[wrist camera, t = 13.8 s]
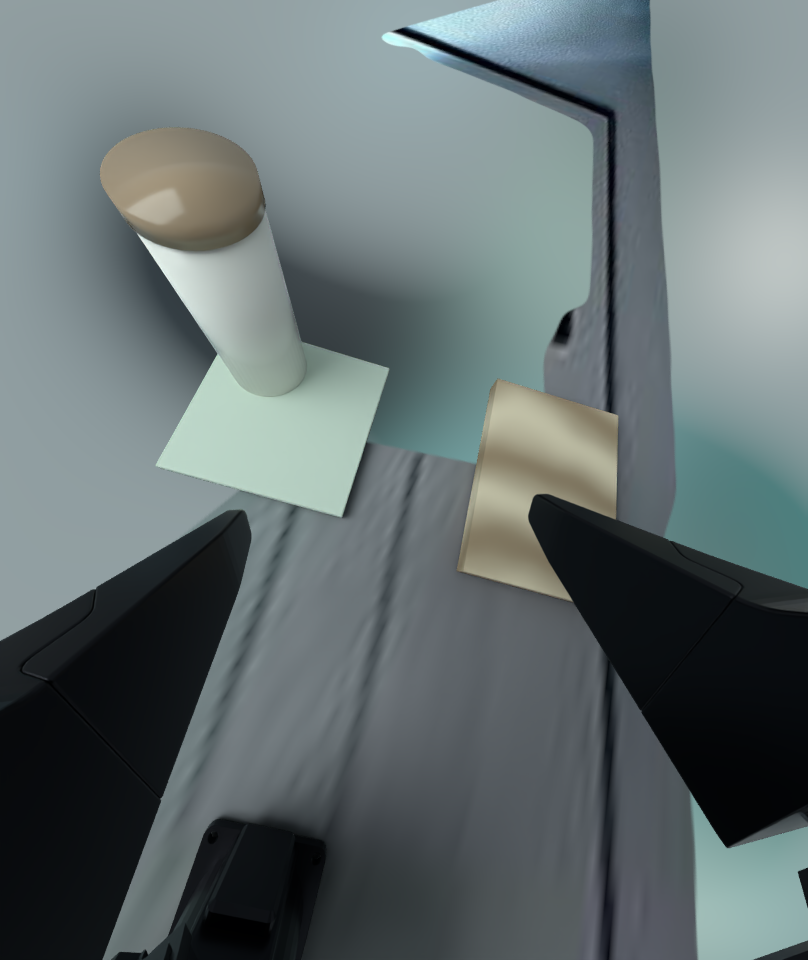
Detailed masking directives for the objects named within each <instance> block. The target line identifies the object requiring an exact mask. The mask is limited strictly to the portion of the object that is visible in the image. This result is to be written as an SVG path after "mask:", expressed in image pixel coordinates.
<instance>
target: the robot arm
mask: <svg viewBox="0 0 808 960" xmlns="http://www.w3.org/2000/svg"><path fill="white" fill-rule="evenodd" d="M528 520H529V523H530V525H531V527H532V529H533V532H534V534H535V536H536V538H537V540H538V542H539V544H540V546H541V548H542V550H543V552H544V554H545V556H546V558H547V560H548V562H549V563H550V565H551V567H552V568H553V570H554V572H555V573H556V575H557V576H558V578H559V580H560V581H561V583H562V585H563V586H564V588H565V589H566V591H567V593H568V594H569V596H570V597H571V599H572V601H573V602H574V604H575V606H576V607H577V609H578V610H579V612H580V614H581V615H582V617H583V618H584V620H585V622H586V623H587V625H588V627H589V628H590V630H591V631H592V633H593V635H594V636H595V638H596V639H597V641H598V643H599V644H600V646H601V648H602V649H603V651H604V652H605V654H606V656H607V657H608V659H609V660H610V662H611V664H612V665H613V667H614V669H615V670H616V672H617V673H618V675H619V677H620V678H621V680H622V681H623V683H624V685H625V686H626V688H627V690H628V691H629V693H630V694H631V696H632V698H633V699H634V701H635V702H636V704H637V706H638V707H639V709H640V710H642V714H643V716H644V717H645V719H646V721H647V722H648V724H649V726H650V727H651V729H652V730H653V732H654V734H655V735H656V737H657V738H658V740H659V742H660V743H661V745H662V747H663V748H664V750H665V751H666V753H667V755H668V756H669V758H670V759H671V761H672V763H673V764H674V766H675V768H676V769H677V771H678V772H679V774H680V776H681V777H682V779H683V781H684V782H685V784H686V785H687V787H688V789H689V790H690V792H691V793H692V795H693V797H694V798H695V800H696V802H697V803H698V805H699V806H700V808H701V810H702V811H703V813H704V814H705V816H706V818H707V819H708V821H709V822H710V824H711V826H712V827H713V829H714V831H715V832H716V834H717V835H718V837H719V838H720V839H721V841H722V842H723V844H724V845H725V846H726V847H727V848H731V847H735V846H738V845H742V844H746V843H749V842H753V841H757V840H760V839H764V838H767V837H771V836H774V835H778V834H782V833H785V832H789V831H793V830H796V829H799V828H803V827H807V826H808V589H806V588H803V587H800V586H797V585H794V584H792V583H789V582H786V581H782V580H780V579H777V578H774V577H771V576H768V575H765V574H762V573H760V572H756V571H754V570H751V569H748V568H745V567H742V566H739V565H736V564H733V563H731V562H728V561H725V560H722V559H719V558H716V557H714V556H710V555H708V554H705V553H703V552H700V551H697V550H695V549H692V548H689V547H686V546H684V545H681V544H678V543H675V542H673V541H669V540H668V539H665V538H663V537H660V536H658V535H655V534H652V533H650V532H647V531H644V530H642V529H639V528H637V527H634V526H631V525H629V524H626V523H623V522H621V521H618V520H616V519H613V518H610V517H608V516H605V515H603V514H600V513H597V512H595V511H592V510H589V509H587V508H584V507H582V506H579V505H576V504H574V503H571V502H568V501H566V500H563V499H561V498H558V497H555V496H553V495H550V494H536V495H535V496H534V497H533V499H532V503H531V506H530V510H529V513H528ZM250 543H251V530H250V526H249V522H248V519H247V515H246V512H245V511H244V510H228V511H226V512H224V513H222V514H221V515H219V516H217V517H216V518H214V519H212V520H211V521H209V522H207V523H205V524H204V525H202V526H200V527H199V528H197V529H195V530H193V531H192V532H190V533H188V534H187V535H185V536H183V537H181V538H180V539H178V540H176V541H175V542H173V543H171V544H169V545H168V546H166V547H164V548H163V549H161V550H159V551H157V552H156V553H154V554H152V555H151V556H149V557H147V558H146V559H144V560H142V561H140V562H139V563H137V564H135V565H134V566H132V567H130V568H128V569H127V570H125V571H123V572H122V573H120V574H118V575H116V576H115V577H113V578H111V579H110V580H108V581H106V582H104V583H103V584H101V585H99V586H98V587H97V588H96V590H95V589H93V590H91V591H89V592H87V593H86V594H84V595H82V596H80V597H79V598H77V599H75V600H74V601H72V602H70V603H68V604H67V605H65V606H63V607H62V608H60V609H58V610H56V611H54V612H52V613H51V614H49V615H47V616H45V617H44V618H42V619H40V620H38V621H36V622H35V623H33V624H31V625H29V626H27V627H25V628H24V629H22V630H20V631H18V632H16V633H14V634H12V635H10V636H9V637H7V638H5V639H3V640H1V641H0V960H102V959H103V957H104V954H105V951H106V948H107V946H108V943H109V940H110V938H111V935H112V932H113V930H114V927H115V924H116V922H117V919H118V916H119V913H120V911H121V908H122V905H123V903H124V900H125V897H126V895H127V892H128V889H129V886H130V884H131V881H132V878H133V876H134V873H135V870H136V868H137V865H138V862H139V859H140V857H141V854H142V851H143V849H144V846H145V843H146V841H147V838H148V835H149V832H150V830H151V827H152V824H153V822H154V819H155V816H156V814H157V811H158V808H159V805H160V803H161V799H160V798H162V796H163V794H164V791H165V788H166V786H167V783H168V780H169V778H170V775H171V772H172V770H173V767H174V764H175V762H176V759H177V756H178V753H179V751H180V748H181V745H182V743H183V740H184V737H185V735H186V732H187V729H188V726H189V724H190V721H191V718H192V716H193V713H194V710H195V708H196V705H197V702H198V699H199V697H200V694H201V691H202V689H203V686H204V683H205V681H206V678H207V675H208V672H209V670H210V667H211V664H212V662H213V659H214V656H215V654H216V651H217V648H218V646H219V643H220V640H221V637H222V635H223V632H224V629H225V627H226V624H227V621H228V619H229V616H230V613H231V610H232V608H233V605H234V602H235V600H236V597H237V594H238V591H239V588H240V585H241V581H242V577H243V573H244V569H245V564H246V560H247V556H248V552H249V547H250ZM212 831H216V832H217V833H218V837H213V836H212V834H211V832H212ZM326 851H327V849H326V845H325V844H324V842H322V841H320V840H316V839H311V838H307V837H302V836H297V835H293V833H292V832H288V831H283V830H279V829H274V828H269V827H264V826H260V825H255V824H248V825H246V824H241V823H236V822H231V821H227V820H222V819H216V820H214V821H213V822H212V823H211V824H210V825H209V826H208V828H207V830H206V831H205V833H204V835H203V838H202V841H201V844H200V846H199V849H198V852H197V855H196V858H195V861H194V863H193V866H192V869H191V872H190V875H189V878H188V881H187V883H186V886H185V889H184V892H183V895H182V898H181V900H180V903H179V906H178V909H177V912H176V915H175V918H174V920H173V923H172V926H171V929H170V932H169V935H168V937H167V938H166V939H165V940H164V941H163V942H162V943H160V944H159V945H158V946H157V947H156V948H155V949H154V950H153V951H152V952H151V953H150V954H149V955H148V953H147V951H146V949H145V950H144V951H143V952H142V953H131V952H119V953H118V954H117V955H116V956H115V957H114V958H112V959H111V960H301V958H302V954H303V949H304V945H305V941H306V937H307V933H308V929H309V925H310V921H311V917H312V913H313V909H314V905H315V901H316V897H317V893H318V889H319V885H320V881H321V877H322V873H323V869H324V865H325V860H326ZM315 853H319V854H320V855H321V856H320V857H319V858H317V859H315V858H314V857H313V855H314V854H315ZM798 874H799V878H800V882H801V885H802V889H803V892H804V896H805V900H806V903H807V907H808V868H806V869H803V870H801V871H798ZM754 960H808V941H805V942H802V943H800V944H797V945H794V946H791V947H788V948H786V949H782V950H780V951H777V952H774V953H771V954H769V955H765V956H763V957H760V958H757V959H754Z"/></svg>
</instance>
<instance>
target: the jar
mask: <svg viewBox="0 0 808 960" xmlns="http://www.w3.org/2000/svg"><path fill="white" fill-rule="evenodd" d="M100 178H101V182H102V185H103V187H104V189H105V191H106V192H107V194H108V196H109V197H110V199H111V200H112V202H113V203H114V205H115V206H116V207H117V209H118V210H119V212H120V213H121V215H122V216H123V218H124V219H125V221H126V222H127V224H128V225H129V226H130V227H131V228H132V229H133V230H134V231H135V232H136V233H137V234H138V235H139V237H140V238H141V240H142V241H143V243H144V244H145V246H146V247H147V249H148V250H149V252H150V253H151V255H152V256H153V258H154V259H155V261H156V262H157V264H158V265H159V267H160V268H161V270H162V271H163V273H164V274H165V276H166V277H167V279H168V280H169V282H170V283H171V284H172V286H173V288H174V289H175V290H176V292H177V294H178V295H179V296H180V298H181V299H182V301H183V302H184V304H185V305H186V307H187V308H188V310H189V311H190V313H191V314H192V316H193V317H194V319H195V320H196V322H197V323H198V325H199V326H200V328H201V329H202V331H203V332H204V334H205V335H206V337H207V338H208V340H209V341H210V343H211V344H212V346H213V347H214V349H215V350H216V352H217V353H218V355H219V356H220V358H221V359H222V361H223V362H224V363H225V365H226V366H227V368H228V369H229V371H230V372H231V374H232V375H233V377H234V378H235V380H236V381H237V383H238V384H239V385H240V386H241V387H242V388H243V389H245V390H246V391H248V392H250V393H252V394H254V395H258V396H263V397H274V396H280V395H283V394H286V393H288V392H290V391H292V390H293V389H295V388H296V387H297V386H298V385H299V384H300V383H301V382H302V380H303V379H304V377H305V374H306V371H307V361H306V357H305V354H304V350H303V346H302V343H301V339H300V335H299V332H298V328H297V324H296V320H295V317H294V313H293V309H292V306H291V302H290V298H289V295H288V291H287V287H286V284H285V280H284V277H283V273H282V269H281V265H280V262H279V258H278V254H277V250H276V247H275V243H274V239H273V236H272V232H271V228H270V225H269V221H268V217H267V214H266V210H265V207H266V204H265V198H264V194H263V191H262V186H261V183H260V179H259V175H258V171H257V168H256V166H255V164H254V162H253V160H252V159H251V157H250V156H249V155H248V154H247V153H246V152H245V151H244V150H243V149H242V148H241V147H240V146H238V145H237V144H235V143H234V142H232V141H230V140H228V139H226V138H224V137H222V136H220V135H217V134H214V133H211V132H207V131H203V130H198V129H192V128H180V127H170V128H158V129H153V130H148V131H144V132H141V133H137V134H135V135H132V136H130V137H128V138H126V139H124V140H122V141H121V142H119V143H118V144H116V145H115V146H114V147H113V148H112V149H111V150H110V151H109V152H108V153H107V154H106V156H105V158H104V160H103V161H102V164H101V168H100Z"/></svg>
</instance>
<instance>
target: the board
mask: <svg viewBox="0 0 808 960" xmlns="http://www.w3.org/2000/svg"><path fill="white" fill-rule="evenodd" d="M617 446H618V415H614V414H611V413H608V412H605V411H601V410H598V409H595V408H592V407H588V406H585V405H582V404H579V403H575V402H572V401H569V400H566V399H562V398H559V397H556V396H553V395H549V394H546V393H543V392H540V391H537V390H533V389H530V388H526V387H523V386H520V385H517V384H514V383H511V382H507V381H504V380H501V379H497V380H496V382H495V383H494V385H493V386H492V387H491V389H490V394H489V400H488V405H487V410H486V416H485V421H484V427H483V432H482V437H481V443H480V448H479V453H478V459H477V464H476V470H475V475H474V480H473V486H472V491H471V497H470V502H469V507H468V513H467V518H466V524H465V529H464V534H463V540H462V545H461V551H460V556H459V561H458V567H457V571H458V572H462V573H466V574H469V575H473V576H477V577H480V578H484V579H488V580H492V581H495V582H499V583H503V584H506V585H510V586H514V587H518V588H521V589H525V590H529V591H532V592H536V593H540V594H544V595H547V596H551V597H555V598H558V599H562V600H566V601H570V602H573V601H572V599H571V597H570V596H569V594H568V593H567V591H566V589H565V588H564V586H563V585H562V583H561V581H560V580H559V578H558V576H557V575H556V573H555V572H554V570H553V568H552V567H551V565H550V563H549V562H548V560H547V558H546V556H545V554H544V552H543V550H542V548H541V546H540V544H539V542H538V540H537V538H536V536H535V534H534V532H533V529H532V527H531V525H530V523H529V520H528V513H529V510H530V506H531V503H532V499H533V497H534V496H535V495H536V494H550V495H553V496H555V497H558V498H561V499H563V500H566V501H568V502H571V503H574V504H576V505H579V506H582V507H584V508H587V509H589V510H592V511H595V512H597V513H600V514H603V515H605V516H608V517H610V518H613V519H616V493H617ZM573 603H574V602H573Z"/></svg>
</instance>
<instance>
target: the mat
mask: <svg viewBox="0 0 808 960" xmlns="http://www.w3.org/2000/svg"><path fill="white" fill-rule="evenodd" d="M301 343H302V346H303V350H304V354H305V357H306V361H307V371H306V374H305V377H304V379H303V380H302V382H301V383H300V384H299V385H298V386H297V387H296V388H295V389H293V390H292V391H290V392H288V393H286V394H283V395H280V396H274V397H263V396H258V395H254V394H252V393H250V392H248V391H246V390H245V389H243V388H242V387H241V386H240V385H239V384H238V383H237V381H236V380H235V378H234V377H233V375H232V374H231V372H230V371H229V369H228V368H227V366H226V365H225V363H224V362H223V361H222V359H221V358H220V356H219V355H217V356H216V358H215V360H214V362H213V364H212V365H211V367H210V369H209V371H208V373H207V374H206V376H205V378H204V380H203V382H202V384H201V385H200V387H199V389H198V390H197V392H196V394H195V396H194V398H193V399H192V401H191V403H190V405H189V407H188V408H187V410H186V412H185V414H184V416H183V417H182V419H181V421H180V423H179V425H178V426H177V428H176V430H175V432H174V433H173V435H172V437H171V439H170V441H169V442H168V444H167V446H166V448H165V450H164V451H163V453H162V455H161V457H160V458H159V460H158V462H157V464H156V466H157V467H159V468H161V469H164V470H168V471H172V472H175V473H179V474H183V475H186V476H190V477H194V478H197V479H201V480H204V481H208V482H212V483H216V484H219V485H223V486H226V487H230V488H234V489H237V490H241V491H245V492H248V493H252V494H256V495H259V496H263V497H267V498H270V499H274V500H278V501H281V502H285V503H289V504H292V505H296V506H300V507H303V508H307V509H311V510H314V511H318V512H322V513H325V514H329V515H333V516H336V517H340V518H342V517H343V513H344V510H345V507H346V504H347V501H348V498H349V495H350V492H351V489H352V485H353V482H354V479H355V476H356V473H357V470H358V467H359V464H360V461H361V457H362V454H363V451H364V448H365V445H366V442H367V439H368V435H369V433H370V429H371V426H372V423H373V420H374V417H375V414H376V411H377V408H378V405H379V402H380V398H381V395H382V392H383V389H384V386H385V383H386V380H387V377H388V373H389V368H386V367H383V366H380V365H376V364H373V363H370V362H366V361H363V360H360V359H356V358H353V357H350V356H347V355H343V354H340V353H337V352H333V351H330V350H327V349H324V348H320V347H317V346H314V345H311V344H307V343H304V342H301Z"/></svg>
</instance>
